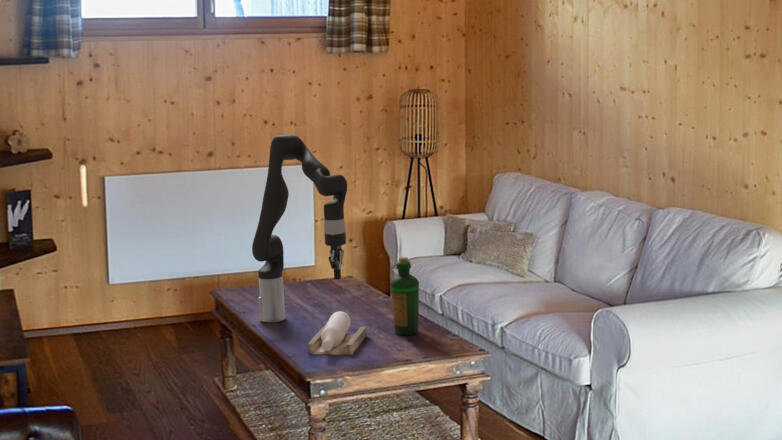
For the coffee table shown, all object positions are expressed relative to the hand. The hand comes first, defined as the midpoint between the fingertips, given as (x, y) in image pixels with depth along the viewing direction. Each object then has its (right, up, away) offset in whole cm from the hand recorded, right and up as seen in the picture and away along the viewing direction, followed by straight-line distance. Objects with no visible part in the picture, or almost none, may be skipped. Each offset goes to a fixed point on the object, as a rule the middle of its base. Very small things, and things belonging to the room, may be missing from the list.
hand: (337, 278), depth 387 cm
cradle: (0, -24, -1) cm, 24 cm away
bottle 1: (0, -16, +12) cm, 20 cm away
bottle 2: (+25, -21, +10) cm, 34 cm away
